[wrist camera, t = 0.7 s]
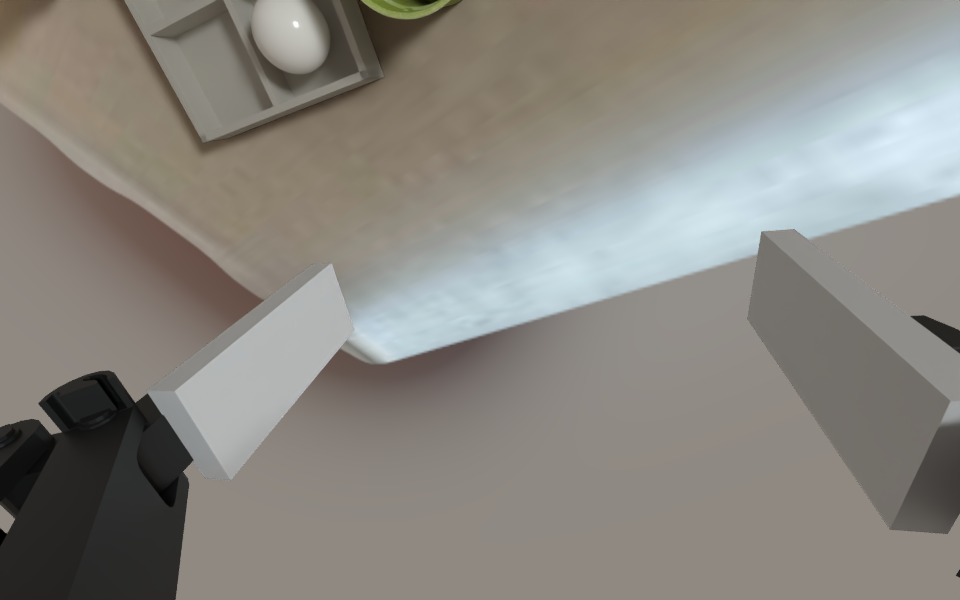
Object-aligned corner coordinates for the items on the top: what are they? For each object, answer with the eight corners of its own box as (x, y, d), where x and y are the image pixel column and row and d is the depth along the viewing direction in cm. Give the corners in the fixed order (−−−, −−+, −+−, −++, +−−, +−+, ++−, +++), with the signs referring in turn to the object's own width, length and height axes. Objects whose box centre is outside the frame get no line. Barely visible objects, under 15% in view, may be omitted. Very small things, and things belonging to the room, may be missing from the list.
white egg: (268, 10, 34) (218, 0, 30) (324, -18, 33) (281, -34, 28) (300, 83, 37) (258, 85, 32) (354, 61, 35) (319, 59, 30)
